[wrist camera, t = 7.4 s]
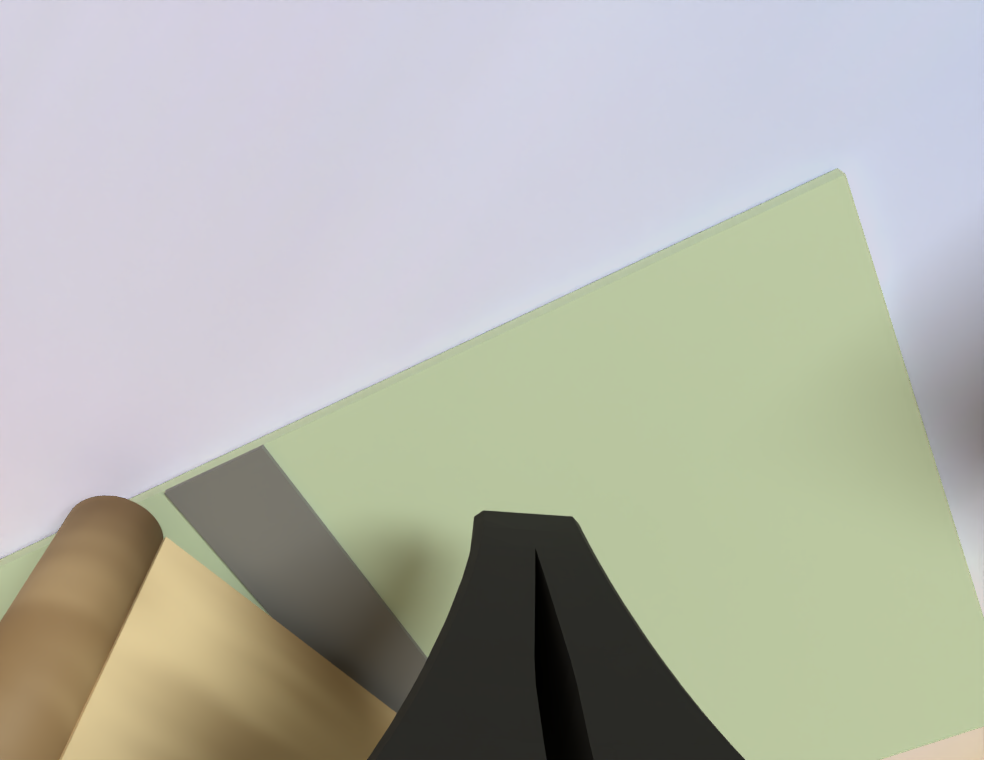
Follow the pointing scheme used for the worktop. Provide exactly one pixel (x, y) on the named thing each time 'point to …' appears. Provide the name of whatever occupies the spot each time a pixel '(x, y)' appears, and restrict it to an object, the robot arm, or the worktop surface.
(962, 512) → the worktop surface
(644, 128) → the worktop surface
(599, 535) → the board
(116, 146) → the worktop surface
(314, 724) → the hinged panel
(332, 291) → the worktop surface
